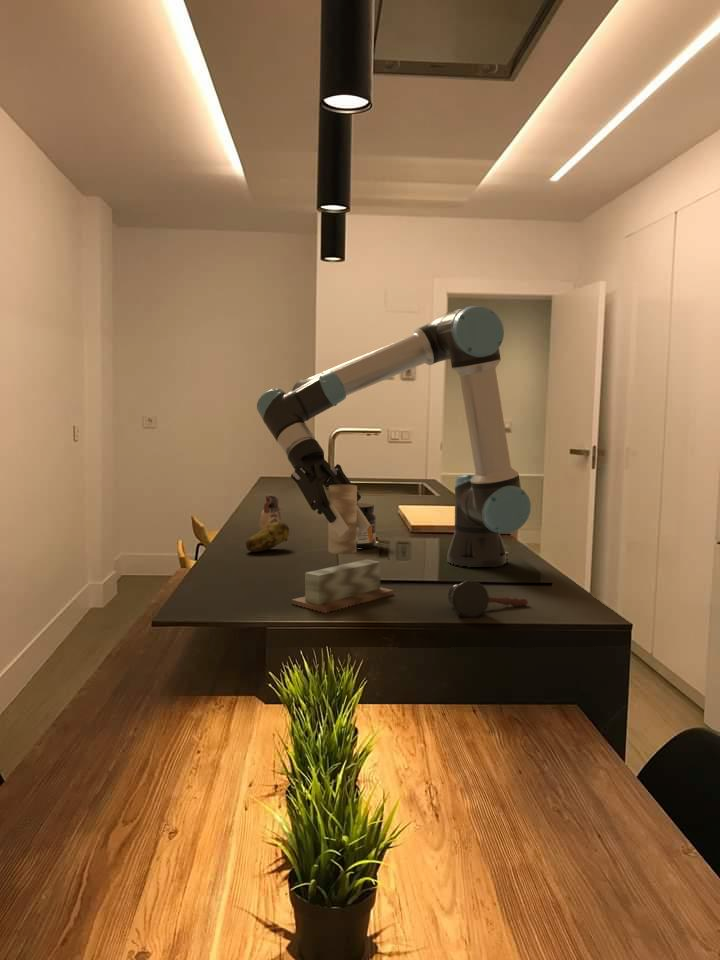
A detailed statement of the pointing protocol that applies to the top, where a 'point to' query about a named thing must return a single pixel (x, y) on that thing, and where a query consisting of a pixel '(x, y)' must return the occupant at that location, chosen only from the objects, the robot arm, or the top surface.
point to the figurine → (270, 511)
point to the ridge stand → (342, 586)
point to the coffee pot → (476, 599)
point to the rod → (347, 508)
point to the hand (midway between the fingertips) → (355, 530)
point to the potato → (268, 537)
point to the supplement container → (369, 535)
